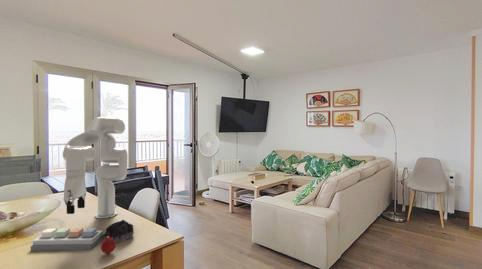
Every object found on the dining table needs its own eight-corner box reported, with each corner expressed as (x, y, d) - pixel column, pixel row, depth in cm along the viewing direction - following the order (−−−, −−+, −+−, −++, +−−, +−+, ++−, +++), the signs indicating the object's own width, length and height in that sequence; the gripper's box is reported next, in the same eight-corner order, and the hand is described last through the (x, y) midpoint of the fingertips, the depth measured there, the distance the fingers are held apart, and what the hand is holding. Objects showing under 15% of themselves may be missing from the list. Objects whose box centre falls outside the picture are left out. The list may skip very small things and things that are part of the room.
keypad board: (50, 238, 126) (50, 230, 126) (104, 237, 127) (104, 229, 127) (30, 250, 113) (30, 241, 113) (90, 249, 114) (90, 240, 114)
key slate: (87, 233, 123) (87, 228, 123) (96, 233, 123) (96, 228, 123) (82, 236, 118) (82, 231, 118) (91, 236, 119) (91, 231, 119)
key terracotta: (74, 233, 122) (74, 228, 122) (83, 233, 123) (83, 228, 122) (69, 237, 118) (69, 231, 118) (78, 237, 118) (78, 231, 118)
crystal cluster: (106, 235, 131) (104, 217, 130) (134, 229, 136) (133, 212, 135) (103, 249, 119) (100, 229, 118) (134, 242, 124) (131, 223, 122)
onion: (118, 250, 114) (118, 233, 113) (112, 257, 108) (111, 239, 108) (105, 251, 113) (104, 233, 113) (98, 257, 108) (98, 239, 107)
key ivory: (47, 233, 122) (47, 228, 122) (56, 233, 122) (56, 228, 122) (41, 237, 117) (41, 232, 117) (50, 237, 118) (50, 232, 118)
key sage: (61, 233, 122) (61, 228, 122) (70, 233, 122) (70, 228, 122) (55, 237, 118) (55, 232, 118) (64, 237, 118) (64, 231, 118)
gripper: (78, 170, 128) (78, 205, 128) (54, 177, 111) (55, 217, 111) (93, 170, 128) (93, 205, 129) (72, 177, 111) (73, 217, 111)
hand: (76, 210), depth 120 cm, fingers open, 7 cm apart
